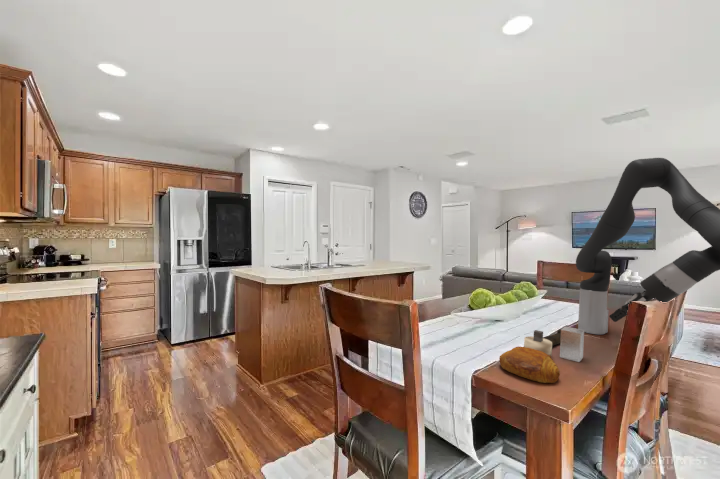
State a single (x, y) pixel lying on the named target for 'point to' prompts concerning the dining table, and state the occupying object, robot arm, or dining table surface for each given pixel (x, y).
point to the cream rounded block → (538, 343)
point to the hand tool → (554, 338)
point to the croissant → (530, 364)
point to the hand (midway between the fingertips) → (614, 316)
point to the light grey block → (571, 343)
